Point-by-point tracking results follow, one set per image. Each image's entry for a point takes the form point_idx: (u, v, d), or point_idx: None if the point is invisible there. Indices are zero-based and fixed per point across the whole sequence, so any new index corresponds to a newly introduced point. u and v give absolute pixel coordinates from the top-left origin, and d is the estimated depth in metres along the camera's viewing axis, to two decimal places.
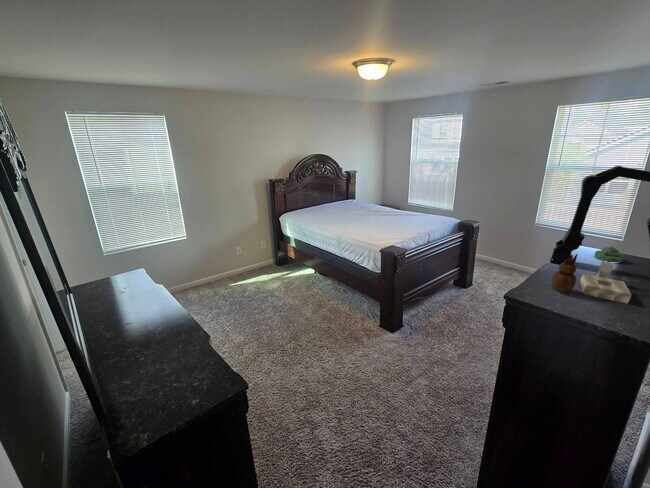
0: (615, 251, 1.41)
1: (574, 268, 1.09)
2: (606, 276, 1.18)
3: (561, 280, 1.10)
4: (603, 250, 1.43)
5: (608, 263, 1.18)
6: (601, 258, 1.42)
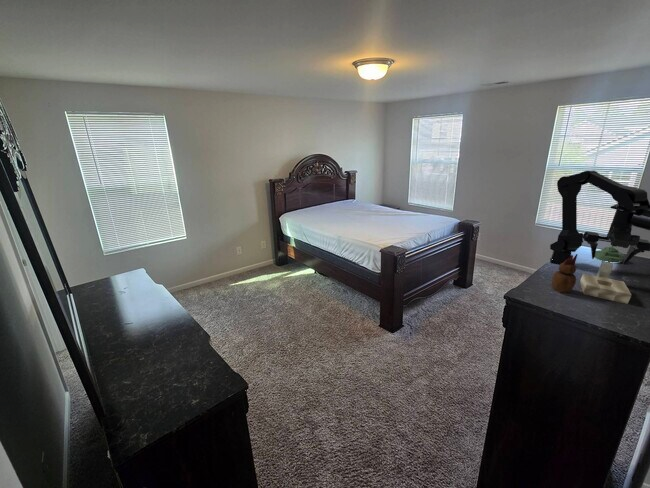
0: (615, 251, 1.41)
1: (574, 268, 1.09)
2: (606, 276, 1.18)
3: (561, 280, 1.10)
4: (603, 250, 1.44)
5: (608, 263, 1.18)
6: (601, 258, 1.42)
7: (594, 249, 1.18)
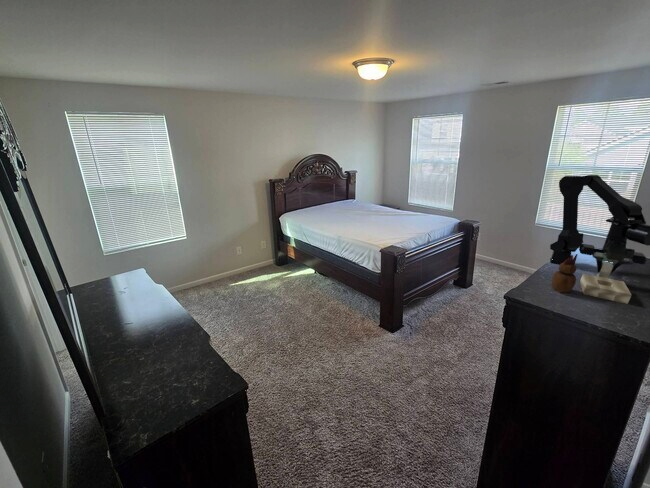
0: None
1: (574, 268, 1.09)
2: (606, 276, 1.18)
3: (561, 280, 1.10)
4: None
5: (608, 263, 1.18)
6: None
7: (600, 263, 1.18)
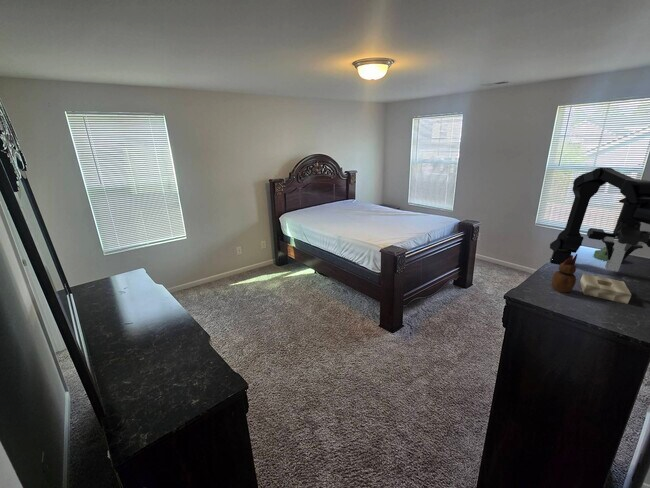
0: None
1: (574, 268, 1.09)
2: (617, 263, 1.07)
3: (561, 280, 1.10)
4: (602, 250, 1.44)
5: (619, 249, 1.07)
6: (600, 258, 1.43)
7: (610, 249, 1.07)
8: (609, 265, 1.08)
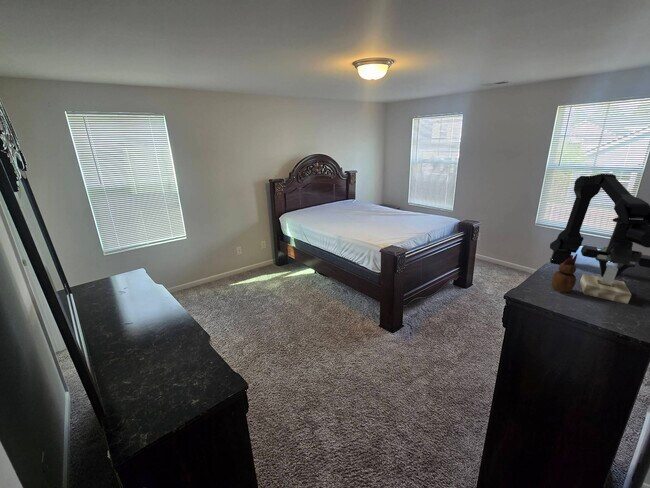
0: None
1: (574, 268, 1.09)
2: (610, 280, 1.09)
3: (561, 280, 1.10)
4: (602, 250, 1.44)
5: (612, 266, 1.09)
6: None
7: (603, 266, 1.09)
8: (602, 282, 1.11)
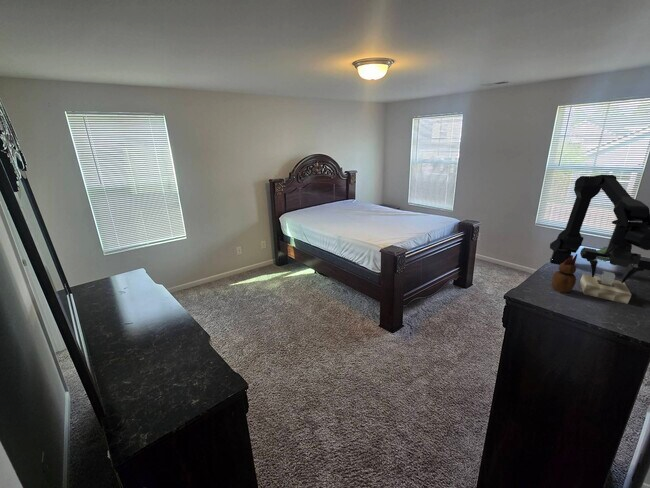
0: None
1: (574, 268, 1.09)
2: None
3: (561, 280, 1.10)
4: (602, 249, 1.44)
5: (610, 273, 1.10)
6: None
7: (594, 267, 1.11)
8: None
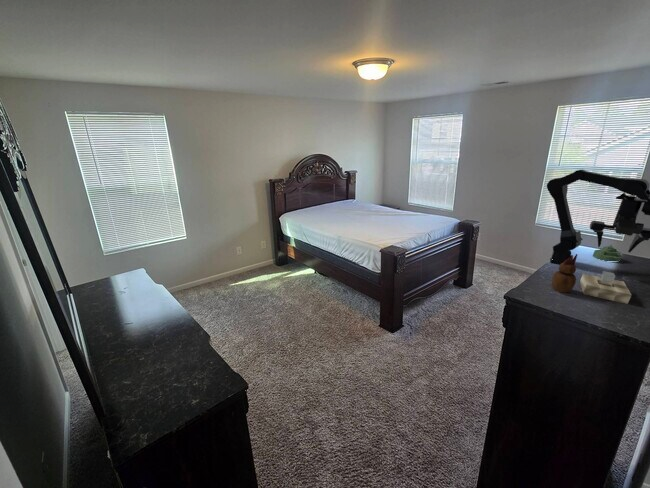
0: (614, 250, 1.42)
1: (574, 268, 1.09)
2: None
3: (561, 280, 1.10)
4: (602, 249, 1.44)
5: (610, 273, 1.10)
6: (600, 257, 1.43)
7: (600, 237, 1.23)
8: None
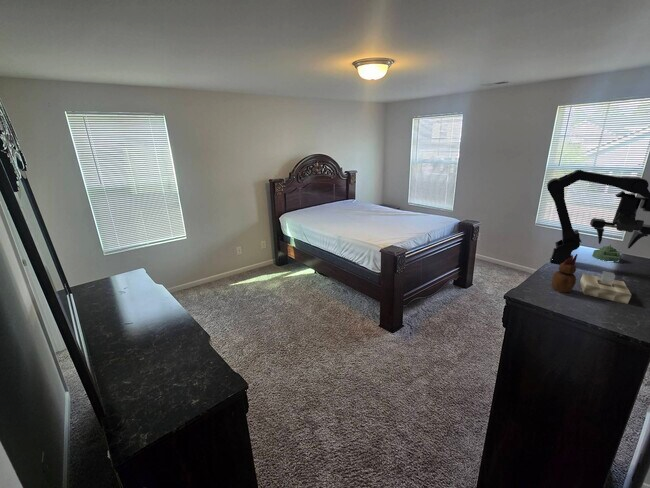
0: (613, 250, 1.42)
1: (574, 268, 1.09)
2: None
3: (561, 280, 1.10)
4: (601, 249, 1.45)
5: (610, 273, 1.10)
6: (599, 257, 1.43)
7: (601, 234, 1.27)
8: None
